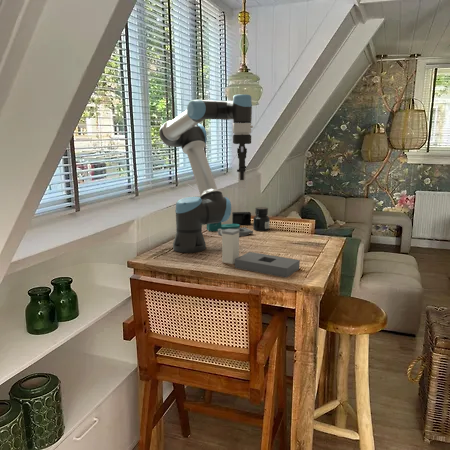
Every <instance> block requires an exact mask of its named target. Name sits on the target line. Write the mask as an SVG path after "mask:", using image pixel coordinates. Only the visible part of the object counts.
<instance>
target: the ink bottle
mask: <svg viewBox="0 0 450 450" xmlns="http://www.w3.org/2000/svg"><path fill="white" fill-rule="evenodd" d="M254 211H255V216H254V217H253V221H252V222H253V223H252V224H253V227H252V229H253V231H259V232H262V231H263V232H265V231H266V232H267V231H269V230H270V227H271V226H270V224H271V223H270V221H271V219H270V217H269V208H268V207H266V206H257V207H255V210H254Z"/></svg>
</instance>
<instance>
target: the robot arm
mask: <svg viewBox="0 0 450 450" xmlns="http://www.w3.org/2000/svg"><path fill="white" fill-rule="evenodd" d="M252 103H253V101H252V96H251V94H247V93H246V94H244V93H243V94H239V93H238V94H234V95H233V97H232V100H207V99H191V100H190V101H188V104H187V106H186V110H185V111H183V112H182V113H180V114H179V115H177V116H176V117H175V118H173V119H172V120H167V121H166V122H164V123H163V124H162V125H161V126H160V128H159V131H158V132H159V133H158V134H159V137H160V140H161V141H162V142H163V143H164V145H166V146H168V147H172V148H181V149H182V152H183V153H184V154H186V155H187V158H188V161H189V163H190V167H191V170H192V174H193V176H194V179H195V183H196V185H197V189H198V191H199V196H189V197H183V198H180V199H179V200H177V202H176V203H175V227H176V229H175V231H176V233H175V236H174V240H173V243H172V249H173V250H174V251H175V252H178V253H187V254H189V253H198V252H202V251H205V250H206V249H207V247H206V246H207V243H206V239H205V238H204V234H203V229H202V228H203V227H202V226H204V225H207V224H213V223H220V222H221V223H225V222H227V221H228V220H229V219H230V217H231V214H232V203H231V200H230V198H228V197H226V196H224V195H223V192H222V191H221V190H219V189H218V187H217V185H216V181H215V178H214V175H213V173H212V170H211V166H210V163H209V161H208V158H207V156H206V155H207V154H206V153H205V152H206V151H205V148H206V144H207V142H208V137H207V136H208V134H207V130H206V128H205V127H204V125H203V124H201V123H202V122H203V121H205V120H224V121H229V120H232V134H233V135H232V143H233V144H235V145H238V147H237V149H236V152H237V158H238V169H236V172H237V173H238V186H237V187H238V189H246V169H247V165H246V158H247V153H248V148H247V147H246V145H249V144H252V135H251V133H252V129H253V128H254V126H253V125H252V113H253V104H252Z"/></svg>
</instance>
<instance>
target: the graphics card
mask: <svg viewBox="0 0 450 450" xmlns="http://www.w3.org/2000/svg"><path fill="white" fill-rule="evenodd" d="M233 229H234V230H239V237H243V236H249V235H250V234H253V233H254V230H251V229H250V228H247V227H246V226H245V227H240V228H233ZM224 230H226V229H223V230H222V229H218V231H217V235H219V236H221V237H222V231H224Z"/></svg>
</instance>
